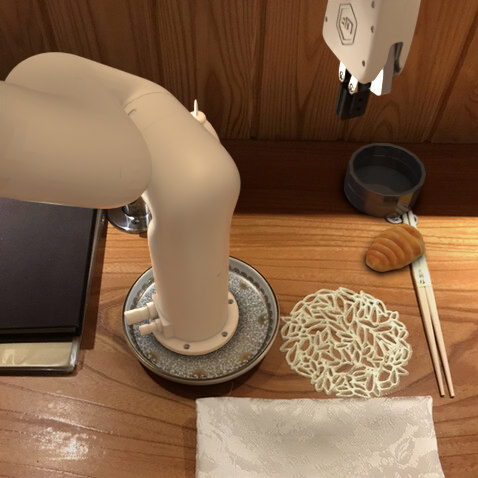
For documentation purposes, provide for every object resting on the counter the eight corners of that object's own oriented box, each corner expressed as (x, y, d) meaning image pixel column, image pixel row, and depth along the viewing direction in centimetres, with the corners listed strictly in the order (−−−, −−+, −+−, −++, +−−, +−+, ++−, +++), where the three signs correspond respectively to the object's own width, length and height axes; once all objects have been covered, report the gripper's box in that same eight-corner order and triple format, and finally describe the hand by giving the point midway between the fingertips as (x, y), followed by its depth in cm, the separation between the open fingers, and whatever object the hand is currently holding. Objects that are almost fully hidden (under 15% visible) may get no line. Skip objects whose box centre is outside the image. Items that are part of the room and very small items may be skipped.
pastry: (385, 284, 84) (391, 268, 81) (353, 256, 87) (358, 240, 84) (426, 255, 88) (434, 238, 84) (394, 229, 90) (401, 212, 87)
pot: (365, 226, 90) (373, 204, 86) (331, 175, 96) (336, 152, 92) (430, 206, 93) (440, 184, 89) (392, 158, 99) (400, 135, 95)
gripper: (315, -88, 54) (293, 83, 69) (395, -9, 46) (350, 163, 62) (383, -99, 55) (347, 71, 71) (471, -24, 48) (409, 147, 63)
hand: (349, 113), depth 66 cm, fingers closed
